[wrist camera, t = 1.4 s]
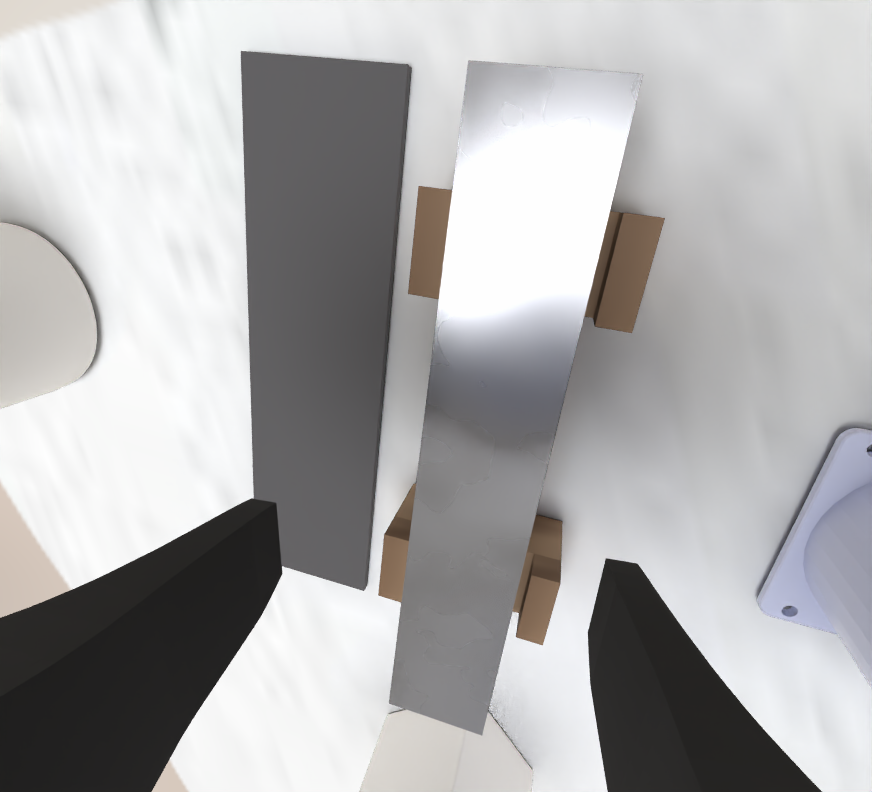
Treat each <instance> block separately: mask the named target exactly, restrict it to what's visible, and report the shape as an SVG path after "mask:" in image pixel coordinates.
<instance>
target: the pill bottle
mask: <svg viewBox="0 0 872 792" xmlns="http://www.w3.org/2000/svg"><path fill="white" fill-rule="evenodd" d="M96 345H97V326H96V319H95V314H94V310H93V306H92V303H91V300H90V298H89V295H88V293H87V291H86V288H85V286H84V284H83V282H82V281H81V279H80V277H79V275H78V274H77V272H76V271H75V269H74V268H73V267H72V265H71V264H70V263H69V261H68V260H67V259H66V258H65V257H64V255H63V254H62V253H61V252H60V251H59V250H58V249H57V248H56V247H54V246H53V245H52V244H51V243H50V242H48V241H47V240H46V239H44V238H43V237H41V236H40V235H38V234H36V233H34V232H32V231H30V230H28V229H26V228H23V227H20V226H17V225H13V224H8V223H1V222H0V409H1V408H4V407H7V406H10V405H13V404H16V403H19V402H22V401H25V400H28V399H31V398H34V397H37V396H40V395H43V394H46V393H49V392H52V391H55V390H58V389H60V388H62V387H64V386H66V385H69V384H71V383H72V382H74V381H76V380H77V379H78V378H80V377H81V376H82V375H83V374H84V373H85V372H86V370H87V369H88V368H89V366H90V364H91V362H92V360H93V358H94V355H95V351H96Z"/></svg>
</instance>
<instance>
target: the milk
mask: <svg viewBox="0 0 872 792" xmlns="http://www.w3.org/2000/svg"><path fill="white" fill-rule="evenodd" d="M532 781H533V771H532V769H531V768H530V766H529V765H528V764H527V762H526V761H525V760H524V758H523V757H522V756H521V754H520V753H519V752H518V750H517V749H516V748H515V746H514V745H513V744H512V742H511V741H510V740H509V738H508V737H507V736H506V734H505V733H504V732H503V730H502V729H501V728H500V727H499V725H498V724H497V723H496V721H495V720H494V719H493V717H492V716H491V715H490V713H489V712H488V713H487V718H486V722H485V726H484V730H483V734H482V736H481V735H479V734H476V733H473V732H470V731H467V730H464V729H461V728H458V727H456V726H453V725H450V724H447V723H444V722H441V721H438V720H435V719H433V718H430V717H427V716H424V715H421V714H418V713H415V712H412V711H409V710H403V711H399V712H395V713H391V714H388V715H387V717H386V720H385V722H384V725H383V728H382V730H381V733H380V736H379V739H378V741H377V744H376V747H375V750H374V752H373V755H372V758H371V760H370V763H369V766H368V769H367V771H366V774H365V777H364V780H363V782H362V785H361V788H360V791H359V792H532Z"/></svg>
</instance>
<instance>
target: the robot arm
mask: <svg viewBox="0 0 872 792" xmlns="http://www.w3.org/2000/svg"><path fill="white" fill-rule="evenodd" d="M871 444H872V431H871V430H866V429H861V428H852V429H848V430H846V431H844V432H842V433H841V434H840V435H839V436H838V438H837V439H836V441H835V443H834V445H833V447H832V449H831V451H830V453H829V455H828V457H827V459H826V461H825V463H824V465H823V467H822V469H821V471H820V473H819V475H818V477H817V479H816V481H815V483H814V485H813V487H812V489H811V491H810V493H809V495H808V497H807V499H806V501H805V503H804V505H803V507H802V509H801V511H800V513H799V515H798V517H797V519H796V521H795V523H794V525H793V527H792V529H791V531H790V533H789V535H788V537H787V539H786V541H785V543H784V545H783V547H782V549H781V551H780V553H779V555H778V557H777V559H776V561H775V563H774V565H773V567H772V569H771V571H770V573H769V576H768V578H767V580H766V582H765V584H764V586H763V588H762V590H761V592H760V594H759V596H758V598H757V602H758V605H759V607H760V609H761V611H762V612H763V613H764V614H766V615H768V616H771V617H775V618H778V619H782V620H786V621H789V622H793V623H797V624H801V625H804V626H808V627H812V628H815V629H819V630H823V631H827V632H830V633H834V634H838V636H839V637H840V639H841V640H842V642H843V644H844V645H845V647H846V648H847V650H848V652H849V653H850V655H851V656H852V658H853V660H854V661H855V663H856V664H857V666H858V668H859V669H860V671H861V672H862V674H863V676H864V677H865V679H866V680H867V682H868V684H869V685H870V687H871V688H872V452H867V448H868V447H869V446H870V445H871ZM281 575H282V564H281V552H280V540H279V528H278V516H277V504H276V503H275V502H270V501H264V500H258V499H250V500H247V501H245V502H243V503H241V504H239V505H237V506H235V507H234V508H232V509H230V510H228V511H226V512H224V513H222V514H221V515H219V516H217V517H215V518H213V519H211V520H210V521H208V522H206V523H204V524H202V525H201V526H199V527H197V528H195V529H193V530H191V531H189V532H188V533H186V534H184V535H182V536H180V537H178V538H177V539H175V540H173V541H171V542H169V543H167V544H165V545H164V546H162V547H160V548H158V549H156V550H154V551H152V552H150V553H148V554H146V555H144V556H142V557H140V558H138V559H136V560H134V561H132V562H130V563H128V564H126V565H124V566H122V567H120V568H118V569H116V570H114V571H112V572H110V573H108V574H106V575H104V576H102V577H99V578H97V579H95V580H93V581H91V582H88V583H86V584H84V585H82V586H79V587H77V588H75V589H73V590H70V591H68V592H65V593H63V594H61V595H58V596H56V597H54V598H51V599H49V600H46V601H44V602H42V603H39V604H37V605H34V606H32V607H29V608H27V609H24V610H21V611H18V612H15V613H13V614H10V615H7V616H4V617H2V618H0V792H151V791H152V790H153V788H154V786H155V784H156V782H157V781H158V779H159V777H160V775H161V773H162V772H163V770H164V768H165V766H166V764H167V763H168V761H169V759H170V757H171V755H172V754H173V752H174V750H175V748H176V746H177V744H178V743H179V741H180V739H181V737H182V736H183V734H184V732H185V731H186V729H187V728H188V726H189V724H190V723H191V721H192V719H193V718H194V716H195V715H196V713H197V712H198V710H199V709H200V707H201V706H202V704H203V703H204V701H205V700H206V698H207V697H208V695H209V694H210V692H211V691H212V689H213V688H214V686H215V685H216V683H217V682H218V680H219V679H220V677H221V676H222V674H223V673H224V671H225V670H226V668H227V667H228V665H229V664H230V662H231V661H232V659H233V658H234V656H235V655H236V653H237V652H238V650H239V649H240V647H241V646H242V644H243V643H244V641H245V640H246V638H247V637H248V635H249V634H250V632H251V631H252V629H253V628H254V626H255V625H256V623H257V622H258V620H259V618H260V617H261V615H262V613H263V611H264V609H265V608H266V606H267V604H268V602H269V600H270V598H271V596H272V594H273V592H274V590H275V588H276V586H277V584H278V582H279V579H280V577H281ZM785 606H792V607H791V608H789V609H783V608H784V607H785ZM588 646H589V667H590V684H591V691H592V697H593V704H594V710H595V716H596V722H597V729H598V735H599V741H600V747H601V753H602V759H603V765H604V771H605V777H606V784H607V790H608V792H822V791H821V790H820V789H819V788H818V787H817V786H816V785H815V784H814V783H813V782H812V781H811V780H810V779H809V778H808V777H807V776H806V775H805V774H804V773H803V772H802V770H801V769H800V768H799V767H798V766H797V765H796V764H795V763H794V762H793V761H792V760H791V759H790V758H789V756H788V755H787V754H786V753H785V752H784V751H783V750H782V749H781V748H780V747H779V746H778V745H777V744H776V742H775V741H774V740H773V739H772V738H771V737H770V736H769V735H768V734H767V733H766V732H765V730H764V729H763V728H762V727H761V726H760V725H759V724H758V722H757V721H756V720H755V719H754V718H753V717H752V716H751V714H750V713H749V712H748V711H747V710H746V709H745V707H744V706H743V705H742V704H741V702H740V701H739V700H738V699H737V698H736V696H735V695H734V694H733V693H732V692H731V690H730V689H729V688H728V687H727V686H726V684H725V683H724V682H723V681H722V679H721V678H720V677H719V675H718V674H717V673H716V672H715V670H714V669H713V668H712V667H711V665H710V664H709V663H708V661H707V660H706V659H705V657H704V656H703V655H702V653H701V652H700V651H699V649H698V648H697V647H696V645H695V644H694V643H693V641H692V640H691V639H690V637H689V636H688V635H687V633H686V632H685V631H684V629H683V628H682V627H681V625H680V624H679V622H678V621H677V620H676V618H675V617H674V615H673V614H672V613H671V611H670V610H669V608H668V607H667V605H666V604H665V603H664V601H663V600H662V598H661V597H660V595H659V594H658V592H657V591H656V590H655V588H654V587H653V585H652V584H651V582H650V581H649V579H648V578H647V576H646V575H645V574H644V572H643V571H642V569H641V568H640V567H639V565H638V564H636V563H630V562H624V561H618V560H612V559H607V558H606V560H605V564H604V569H603V573H602V577H601V581H600V585H599V589H598V593H597V597H596V601H595V606H594V610H593V614H592V618H591V622H590V626H589V630H588Z"/></svg>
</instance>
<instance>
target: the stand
mask: <svg viewBox="0 0 872 792" xmlns="http://www.w3.org/2000/svg"><path fill="white" fill-rule="evenodd" d="M451 198H452V190H446V189H438V188H430V187H423V186H419V188H418V198H417V209H416V219H415V229H414V239H413V249H412V259H411V269H410V280H409V290H408V294H412V295H418V296H423V297H429V298H435V299H439V295H440V287H441V279H442V271H443V263H444V255H445V246H446V238H447V230H448V222H449V214H450V206H451ZM664 219H665V218H661V217H653V216H645V215H638V214H630V213H620V212H612V211H610V212H609V216H608V220H607V225H606V229H605V233H604V237H603V241H602V245H601V249H600V253H599V257H598V262H597V266H596V270H595V274H594V278H593V282H592V286H591V290H590V294H589V299H588V303H587V307H586V311H585V315H584V316H585V317H591V318H593V319H594V325H595V327H600V328H606V329H612V330H617V331H623V332H629V333H632V331H633V328H634V324H635V321H636V317H637V314H638V310H639V307H640V303H641V300H642V296H643V293H644V289H645V286H646V282H647V279H648V275H649V272H650V268H651V265H652V261H653V258H654V254H655V251H656V247H657V244H658V240H659V237H660V233H661V230H662V226H663V223H664ZM415 489H416V484H413V486H412V488H411V489H410V491H409V493H408V494H407V496H406V498H405V500H404V501H403V503H402V505H401V507H400V508H399V510H398V512H397V513H396V515H395V517H394V519H393V520H392V522H391V524H390V526H389V527H388V529H387V531H386V533H385V534H384V543H383V554H382V564H381V574H380V584H379V594H378V595H379V596H382V597H385V598H389V599H392V600H395V601H399V602H402V594H403V586H404V578H405V570H406V562H407V554H408V545H409V537H410V529H411V521H412V513H413V505H414V497H415ZM561 548H562V521H559V520H555V519H551V518H547V517H543V516H539V515H536V516H535V520H534V524H533V529H532V533H531V537H530V541H529V545H528V549H527V553H526V557H525V561H524V566H523V570H522V574H521V578H520V582H519V586H518V590H517V594H516V598H515V603H514V607H513V611H514V612H517V613H519V617H518V625H517V633H516V637H517V638H520V639H524V640H527V641H530V642H534V643H537V644H540V645H543V642H544V639H545V635H546V632H547V628H548V625H549V621H550V618H551V614H552V611H553V607H554V604H555V600H556V597H557V593H558V590H559V586H560V579H561Z"/></svg>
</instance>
